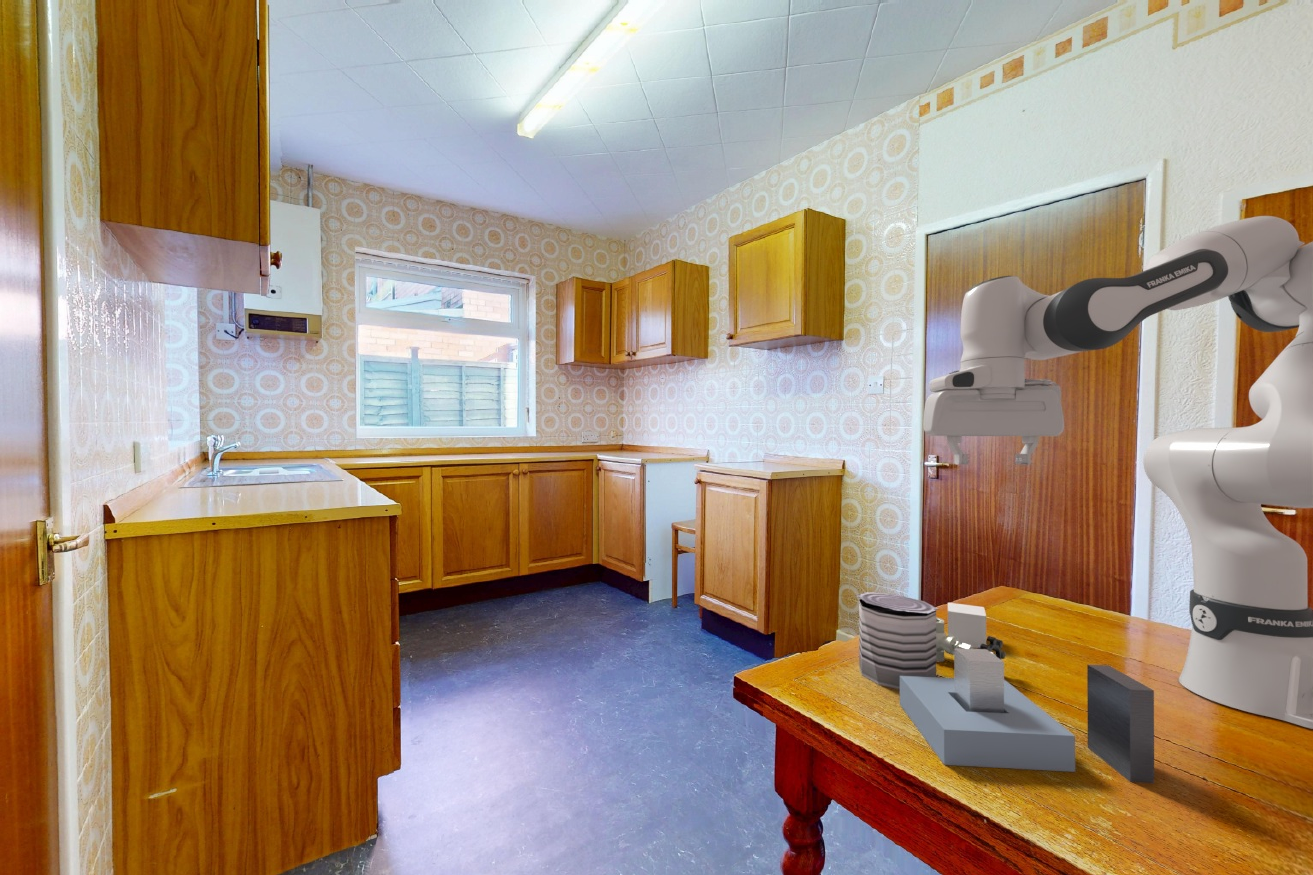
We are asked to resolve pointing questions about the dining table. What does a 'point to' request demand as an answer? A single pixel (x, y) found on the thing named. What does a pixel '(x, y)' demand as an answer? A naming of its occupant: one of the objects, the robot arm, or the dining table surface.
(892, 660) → the can
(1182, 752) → the dining table surface
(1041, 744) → the bore block
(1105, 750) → the dark grey rectangular slab
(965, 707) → the square bit
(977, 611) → the white cube
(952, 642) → the valve
